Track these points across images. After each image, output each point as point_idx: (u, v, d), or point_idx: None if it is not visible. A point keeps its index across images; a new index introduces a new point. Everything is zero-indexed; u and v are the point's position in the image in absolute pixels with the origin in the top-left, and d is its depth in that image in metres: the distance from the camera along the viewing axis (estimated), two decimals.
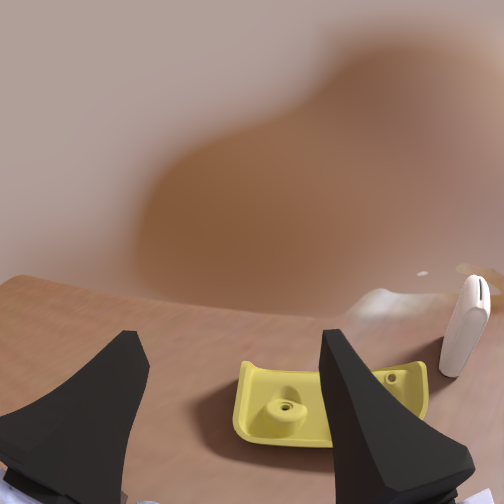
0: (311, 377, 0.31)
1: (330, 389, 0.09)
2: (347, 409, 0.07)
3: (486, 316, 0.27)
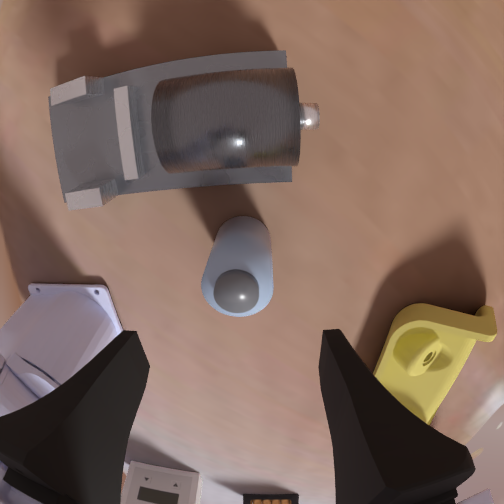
0: (450, 381, 0.21)
1: (330, 389, 0.09)
2: (347, 409, 0.07)
3: None
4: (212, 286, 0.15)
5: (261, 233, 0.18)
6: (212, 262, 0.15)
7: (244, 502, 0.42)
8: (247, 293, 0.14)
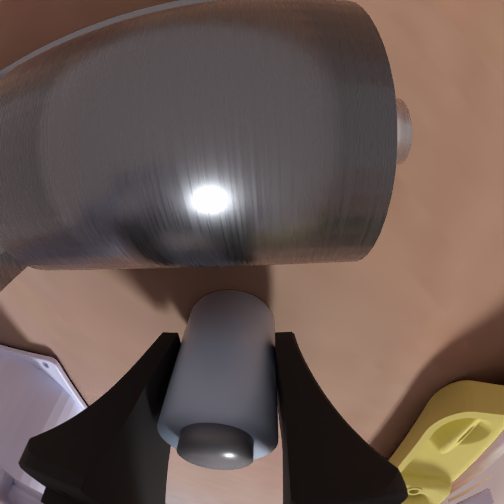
0: (483, 450, 0.14)
1: (278, 392, 0.09)
2: (284, 414, 0.07)
3: None
4: (176, 434, 0.08)
5: (259, 329, 0.10)
6: (170, 409, 0.07)
7: None
8: (233, 456, 0.07)
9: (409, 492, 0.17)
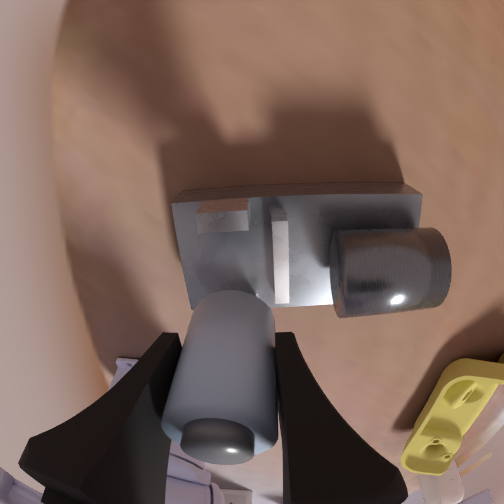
0: (481, 408, 0.24)
1: (278, 392, 0.09)
2: (284, 414, 0.07)
3: None
4: (180, 433, 0.08)
5: (253, 324, 0.11)
6: (169, 407, 0.08)
7: None
8: (234, 450, 0.07)
9: (432, 442, 0.27)
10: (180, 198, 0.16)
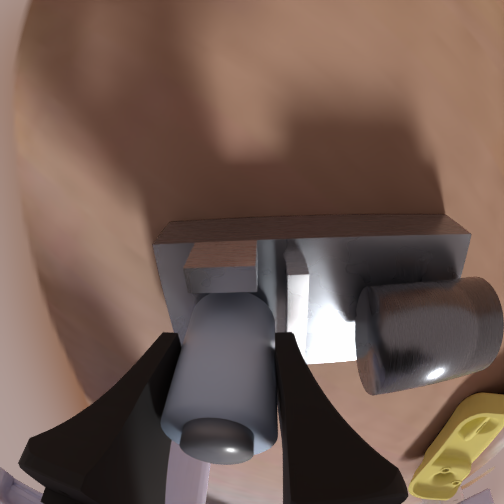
0: (493, 438, 0.20)
1: (279, 392, 0.09)
2: (284, 414, 0.07)
3: None
4: (179, 432, 0.08)
5: (253, 324, 0.11)
6: (168, 407, 0.08)
7: None
8: (233, 450, 0.07)
9: (442, 471, 0.23)
10: (165, 235, 0.13)
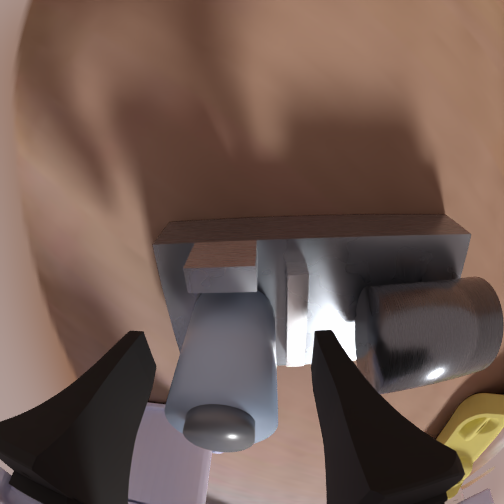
0: (494, 437, 0.20)
1: (321, 390, 0.09)
2: (336, 410, 0.07)
3: None
4: (183, 420, 0.08)
5: (253, 315, 0.11)
6: (172, 394, 0.08)
7: None
8: (235, 436, 0.08)
9: None
10: (165, 235, 0.13)
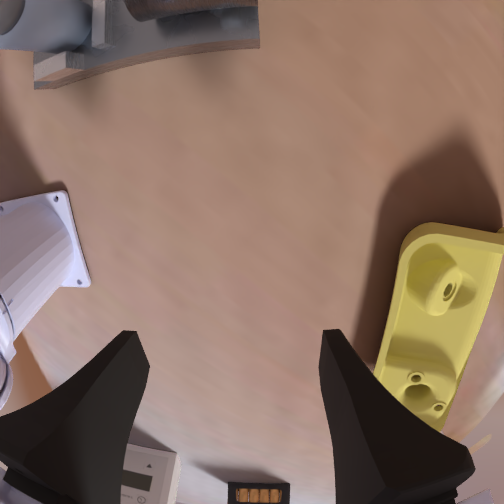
0: (478, 321, 0.18)
1: (330, 389, 0.09)
2: (347, 409, 0.07)
3: None
4: None
5: None
6: None
7: (229, 491, 0.39)
8: (9, 4, 0.06)
9: (411, 380, 0.21)
10: None
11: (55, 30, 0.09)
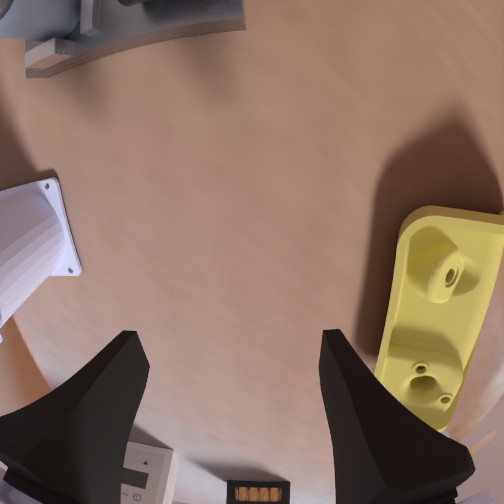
0: (483, 308, 0.18)
1: (330, 389, 0.09)
2: (347, 409, 0.07)
3: None
4: None
5: None
6: None
7: (228, 489, 0.38)
8: None
9: (416, 372, 0.20)
10: None
11: (44, 17, 0.08)
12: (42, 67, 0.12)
